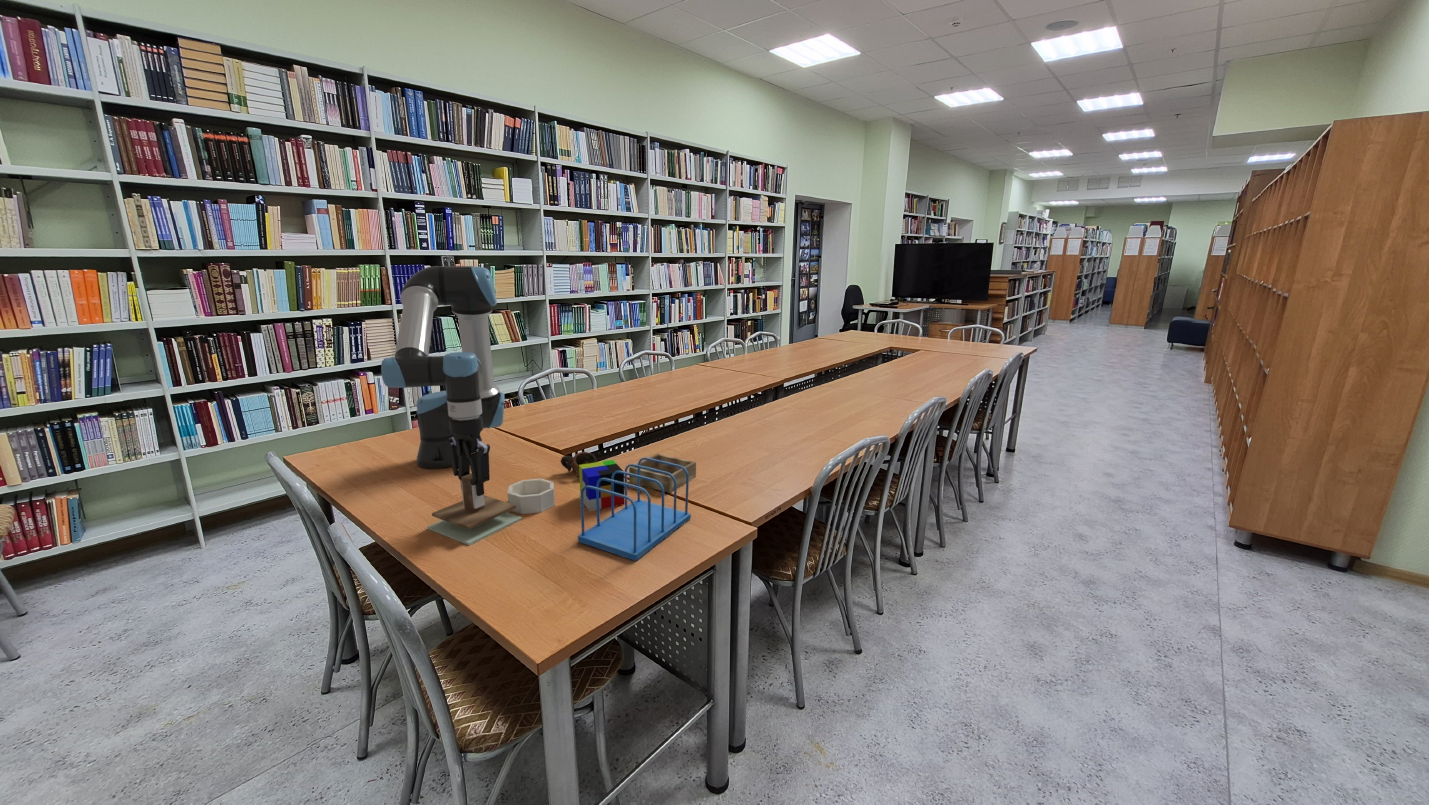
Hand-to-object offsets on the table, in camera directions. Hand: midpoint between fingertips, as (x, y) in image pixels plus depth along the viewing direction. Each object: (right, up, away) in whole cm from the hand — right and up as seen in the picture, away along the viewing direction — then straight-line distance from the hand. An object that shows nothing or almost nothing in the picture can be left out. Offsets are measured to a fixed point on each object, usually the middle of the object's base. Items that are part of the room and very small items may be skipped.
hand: (474, 504), depth 138 cm
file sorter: (+42, -7, 0) cm, 42 cm away
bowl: (+10, -2, +14) cm, 17 cm away
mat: (0, -5, +1) cm, 5 cm away
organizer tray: (+45, +2, +33) cm, 56 cm away
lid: (0, -2, 0) cm, 2 cm away
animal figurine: (+18, +3, +36) cm, 40 cm away
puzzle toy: (+29, -2, +17) cm, 34 cm away
